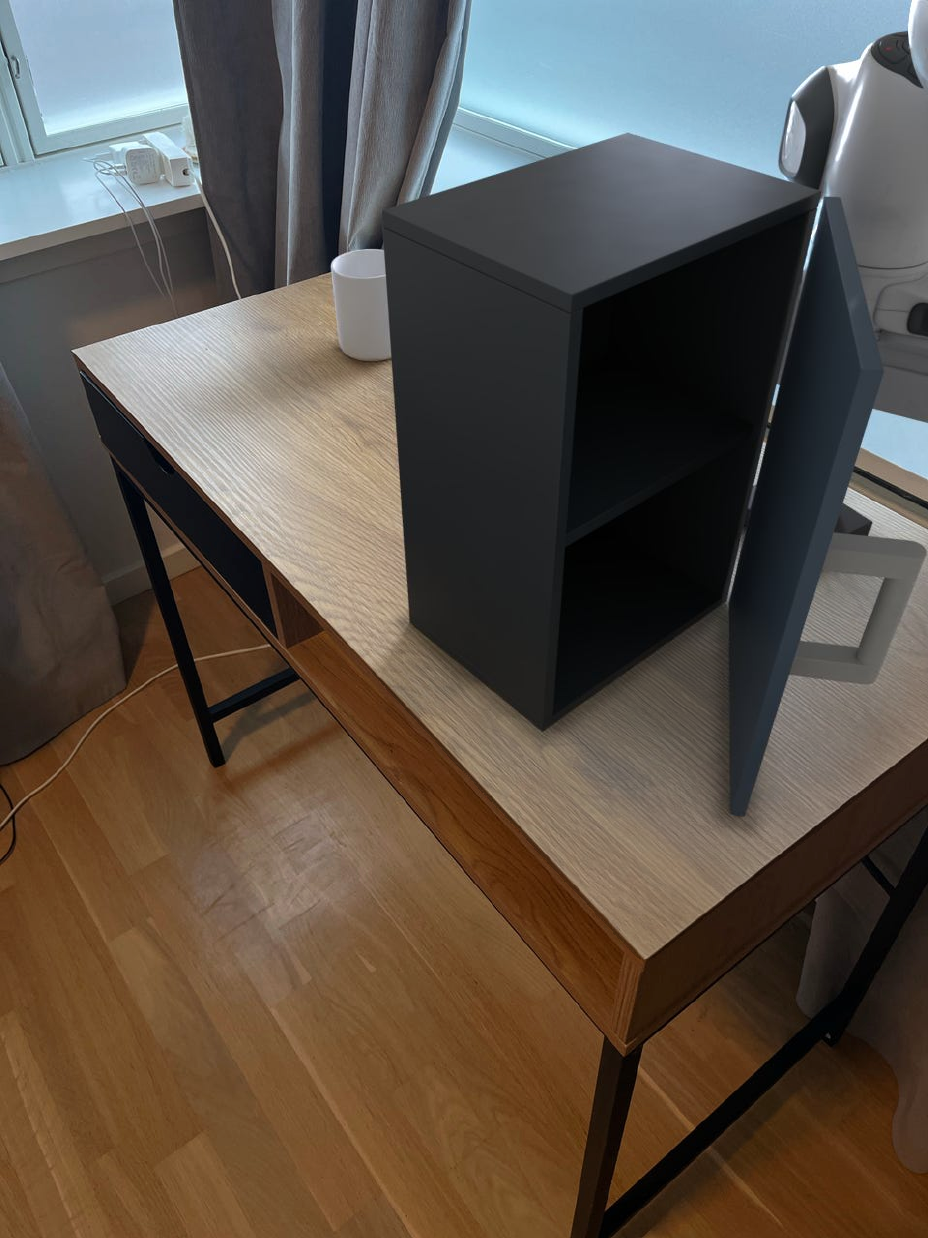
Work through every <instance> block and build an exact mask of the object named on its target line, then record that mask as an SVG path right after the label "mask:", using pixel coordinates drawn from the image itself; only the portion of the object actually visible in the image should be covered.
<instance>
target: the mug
mask: <svg viewBox="0 0 928 1238" xmlns="http://www.w3.org/2000/svg"><path fill="white" fill-rule="evenodd" d="M330 272H331V280H332V289H333V299H334V308H335V309H334V310H335V317H336V326H337V337H338V343H339V347H340V349H341V350H342V352H343V353H344V354H345V355H346V356H348V357H349V358H352V359H355V360H357V361H364V362H379V361H385V360H386V361H387V360H389V359H391V346H390V331H389V317H388V302H387V288H386V273H385V259H384V249H377V248H366V249H356V250H351V251H348V252H345V253H342V254H340V255H338V256H336V257H335V258H334V259H332V261H331V263H330Z"/></svg>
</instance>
